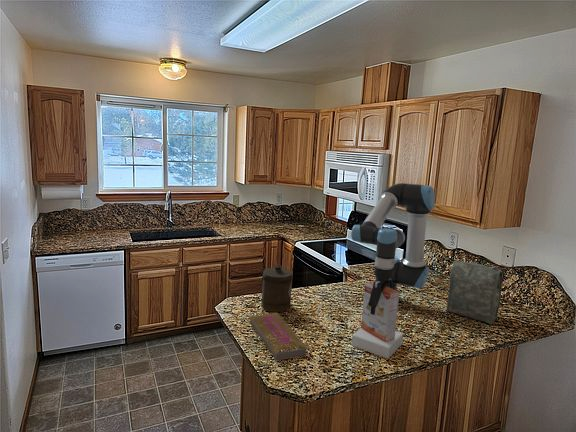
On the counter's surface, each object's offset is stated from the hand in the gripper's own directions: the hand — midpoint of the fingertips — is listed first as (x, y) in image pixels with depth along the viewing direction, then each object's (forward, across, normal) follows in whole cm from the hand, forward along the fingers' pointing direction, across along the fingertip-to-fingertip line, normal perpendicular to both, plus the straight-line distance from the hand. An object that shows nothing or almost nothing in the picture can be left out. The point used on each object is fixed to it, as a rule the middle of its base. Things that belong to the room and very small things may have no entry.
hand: (379, 315), depth 164 cm
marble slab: (+13, 0, 0) cm, 13 cm away
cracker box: (+8, 0, 0) cm, 8 cm away
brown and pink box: (+13, -24, +35) cm, 45 cm away
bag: (+13, +62, -24) cm, 68 cm away
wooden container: (+13, +2, +56) cm, 58 cm away
